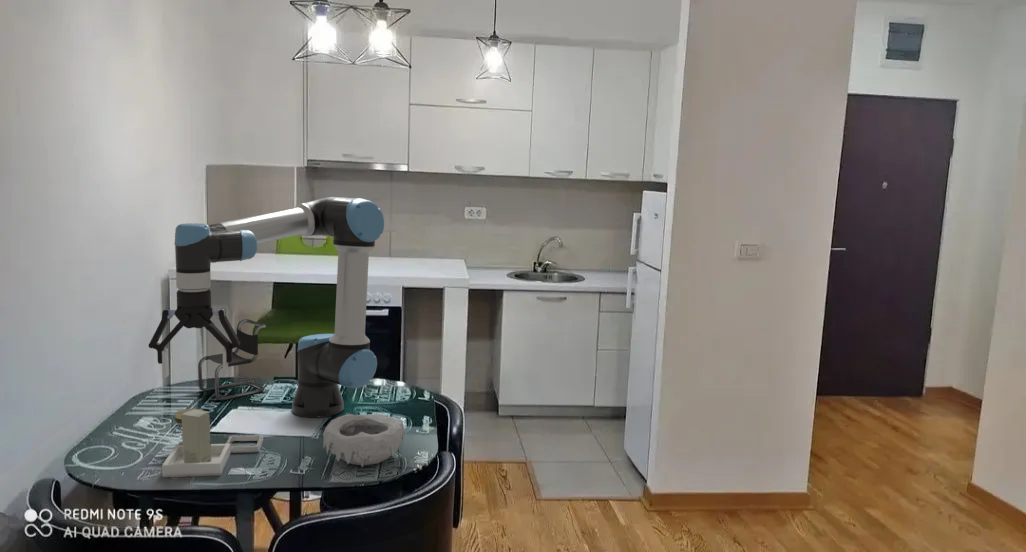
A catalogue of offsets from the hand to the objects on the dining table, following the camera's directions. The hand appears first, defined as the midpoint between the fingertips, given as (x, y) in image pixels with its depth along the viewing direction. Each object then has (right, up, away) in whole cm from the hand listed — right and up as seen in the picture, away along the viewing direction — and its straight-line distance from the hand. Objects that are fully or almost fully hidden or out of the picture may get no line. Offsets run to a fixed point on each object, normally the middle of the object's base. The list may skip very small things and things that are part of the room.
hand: (196, 376), depth 184 cm
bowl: (+38, -23, +11) cm, 46 cm away
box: (-1, -22, +3) cm, 22 cm away
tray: (-1, -22, +3) cm, 23 cm away
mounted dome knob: (-7, -21, +13) cm, 25 cm away
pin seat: (+6, -21, +17) cm, 27 cm away
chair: (-14, -14, +62) cm, 65 cm away
